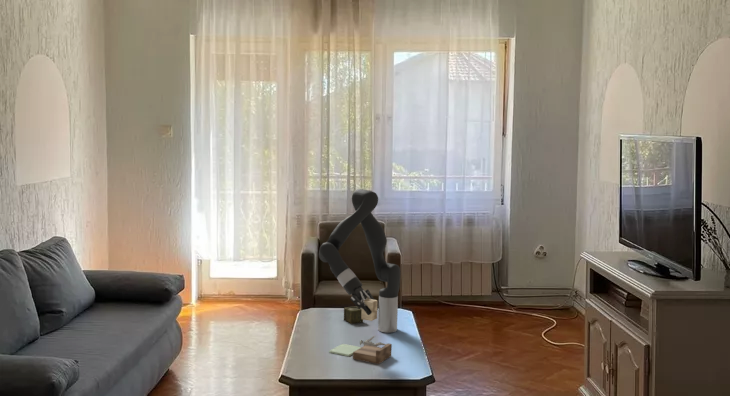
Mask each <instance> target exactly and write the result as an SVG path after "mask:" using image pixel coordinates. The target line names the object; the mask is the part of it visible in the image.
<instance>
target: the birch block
mask: <svg viewBox="0 0 730 396" xmlns="http://www.w3.org/2000/svg"><path fill="white" fill-rule="evenodd" d="M364 302H365V303H366V306H368V307H369V309H370V310H371V311H372V313H371V314H370V315H367V313H366V312H365V311H364V309H362V308H361V309H362V314H361V319H363V321H369V322H373V321H375V320H377V319H378V310H377V308H378V300H377V299H374V300H373V299H371V298H370V299H365V301H364ZM362 303H363V302H362Z"/></svg>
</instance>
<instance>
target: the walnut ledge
mask: <svg viewBox="0 0 730 396" xmlns="http://www.w3.org/2000/svg"><path fill="white" fill-rule="evenodd" d="M386 344H387V345H382V347H380V346H377V347H375V346H369V345H365V346H364V345H363V346H362V347H361V346H360V347H361V348H360V349H358V350H356V351H354V352H353V355H352V360H357V361H362V362H367V363H373V364H378V365H380V364H382V363H383V362H384V361H386V360H387V359H389V358H391V357H392V349H393V348H392V347H393V345H392V343H386Z"/></svg>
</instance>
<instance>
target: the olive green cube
mask: <svg viewBox="0 0 730 396" xmlns="http://www.w3.org/2000/svg"><path fill="white" fill-rule="evenodd" d="M361 314H362V308H358V307H357V306H356V305H355V306H348V307H344V308H343V321H344V322H346V323H347V324H350V325H353V324H361V323H364V320H363V319H361Z"/></svg>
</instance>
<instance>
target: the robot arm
mask: <svg viewBox="0 0 730 396" xmlns="http://www.w3.org/2000/svg"><path fill="white" fill-rule="evenodd" d="M351 202H352V206H353V208H354V212H353V213H352V214H350V215H349V216H347V217H346V218H344V219H343V220H341V221H340V222H339V223H338V224H337V225H336V226H335V228H334V229H333V231H332V232H331V233H330V235H329V237H328V239H327V241H326V242H323V243H322V244H321V245H320V247H319V251H318V258H319V260H320V261H322V262H323V263H327V264H328V265H329V268H330V271H331V272H332V274H333V275H334V277H335V278H336V279H337V280H338V283H339V284H340V285H341V286H342V288H343V289H344V290H345V292H346V293H347V294H348V295H349V296H350V295H351V297H350V298H349V299H350V301H351V302H352V303H353V304H354V305H355V306H357V307H358V308H361V309H364V311H365V312H366V313H367V315H370V314H371V313H372V311H371V310H370V309H369V307H368V306H366V303H365V302H364V301H365V299H373V300H375V298H374V297H373V295H372V293H371V292H370V290H369V289H366V290H365V289H364V288H363V282H362V281H360V278H358V276H357V275H356V273H354V271H353V270H352V269H350V267H349V266H348V265H347V263H346V262H345V261H344V260H343V257H342V256H341V254H340V252H339V251H340V249H341V247H342V246H343V244H344V243H345V242H346V241H347V239H348V238H349V236H350V235H351V234H352V232H353V231H354V230H355V229H356V228H357V227H358V226H359V225H361V227H362V231H363V234H364V235H365V240H366V243H367V246H368V248H369V251H370V254H371V258H372V262H373V267H374V272H375V275H376V277H377V279H378V280H379V281H380V282H384V283H387V285H386V286H387V287H383V288H380V289H379V291H378V307H377V311H378V317H377V319H378V322H377V330H378V331H379V332H382V333H386V334H387V333H390V334H391V333H396V332H397V330H398V310H399V308H398V306H399V305H398V303H399V301H398V300H399V291H400V284H401V267H400V265H398V264H395V263H390V262H387V261H386V259H385V256H384V255H385V254H384V253H385V250H386V247H387V236H386V233H385V230H384V228H383V226H382V225H381V223H380V222H379V221H378V220H377V219H376V217H375V216H374V215H373V213H372V212H373V211H374V210H375V209H376V207H377V205H378V202H379V196H378V194H377V192H374V191H372V190H367V189H361V188H360V189H359V188H358V189H356V190H354V191H353V193H352V194H351ZM362 302H363V303H362Z"/></svg>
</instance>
